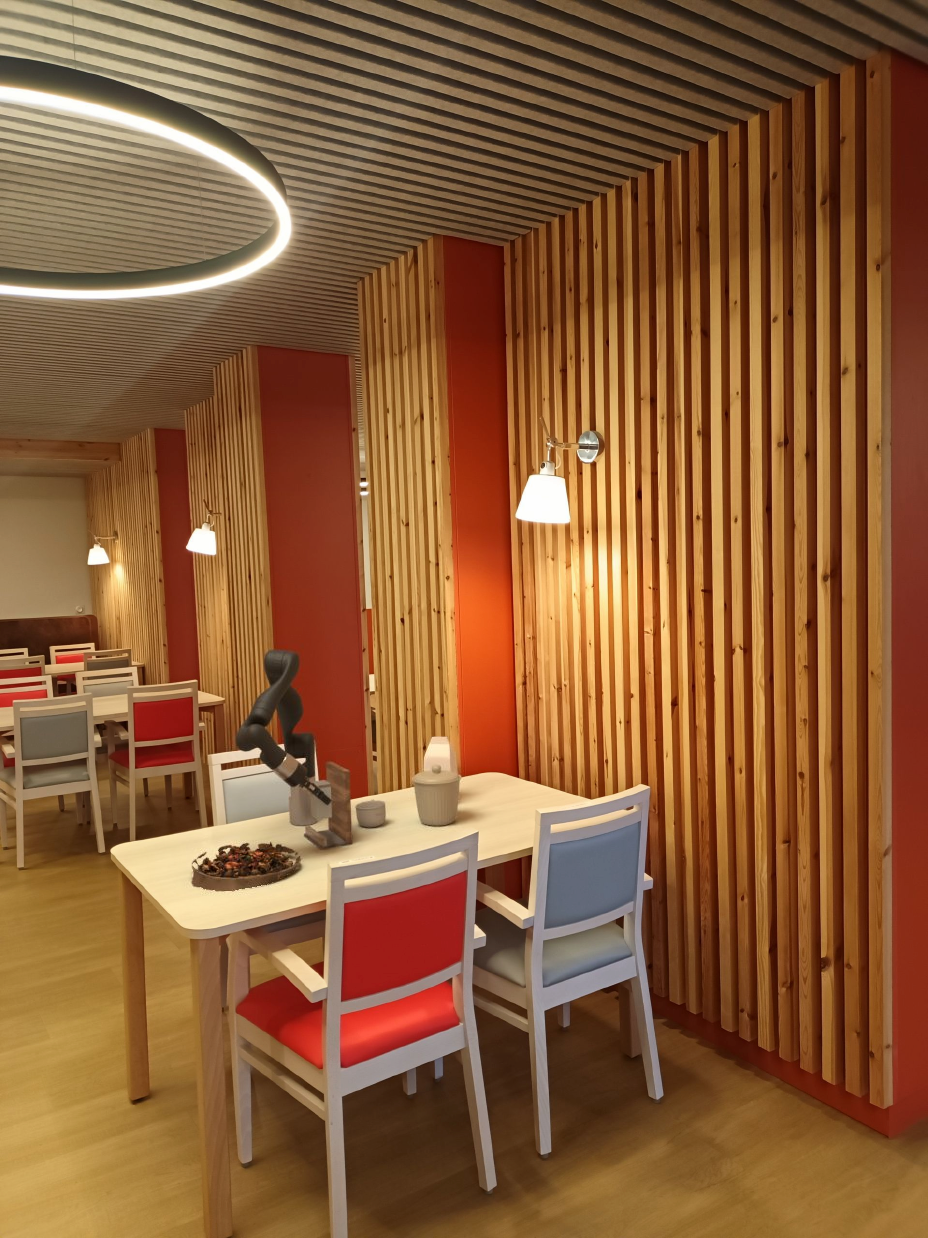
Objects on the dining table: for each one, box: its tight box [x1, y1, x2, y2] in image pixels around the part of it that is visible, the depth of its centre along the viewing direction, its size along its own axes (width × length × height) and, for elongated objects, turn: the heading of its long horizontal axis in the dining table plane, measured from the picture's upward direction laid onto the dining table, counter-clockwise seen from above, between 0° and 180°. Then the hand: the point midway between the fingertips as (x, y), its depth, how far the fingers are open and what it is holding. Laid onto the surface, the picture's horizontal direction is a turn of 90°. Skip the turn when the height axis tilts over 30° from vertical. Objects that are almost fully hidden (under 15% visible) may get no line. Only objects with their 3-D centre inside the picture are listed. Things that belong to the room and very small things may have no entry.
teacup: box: [354, 799, 387, 828], centre depth 330 cm, size 14×11×8 cm
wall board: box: [303, 761, 353, 851], centre depth 311 cm, size 11×18×25 cm, turn 28°
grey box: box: [310, 779, 332, 821], centre depth 295 cm, size 5×6×11 cm
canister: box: [411, 765, 462, 827], centre depth 329 cm, size 18×18×21 cm
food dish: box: [190, 841, 302, 892], centre depth 281 cm, size 35×33×8 cm
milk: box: [423, 736, 461, 800], centre depth 358 cm, size 12×12×26 cm
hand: (325, 800), depth 296 cm, fingers closed on grey box, 6 cm apart
